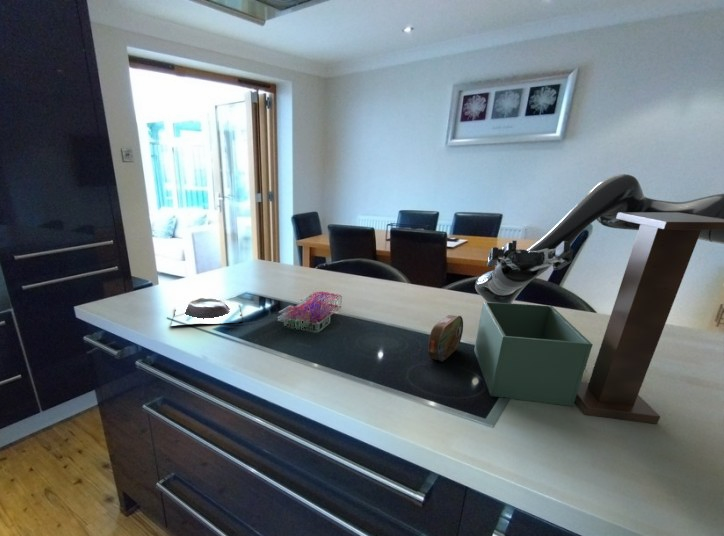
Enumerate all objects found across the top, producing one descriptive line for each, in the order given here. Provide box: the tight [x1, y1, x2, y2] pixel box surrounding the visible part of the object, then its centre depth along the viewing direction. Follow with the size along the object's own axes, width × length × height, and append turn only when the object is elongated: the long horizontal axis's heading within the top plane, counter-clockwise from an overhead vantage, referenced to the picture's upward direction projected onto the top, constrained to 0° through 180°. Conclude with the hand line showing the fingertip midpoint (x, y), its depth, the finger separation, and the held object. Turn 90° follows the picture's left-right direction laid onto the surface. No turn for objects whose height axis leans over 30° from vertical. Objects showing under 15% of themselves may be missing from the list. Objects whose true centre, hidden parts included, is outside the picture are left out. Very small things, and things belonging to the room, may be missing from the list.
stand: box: [574, 212, 724, 425], centre depth 63 cm, size 10×14×32 cm
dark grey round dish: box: [185, 297, 230, 319], centre depth 120 cm, size 21×20×4 cm
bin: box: [473, 301, 594, 407], centre depth 78 cm, size 13×21×12 cm, turn 162°
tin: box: [427, 314, 464, 362], centre depth 88 cm, size 15×3×8 cm, turn 137°
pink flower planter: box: [277, 291, 343, 334], centre depth 117 cm, size 30×15×5 cm, turn 150°
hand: (540, 245), depth 74 cm, fingers open, 8 cm apart
